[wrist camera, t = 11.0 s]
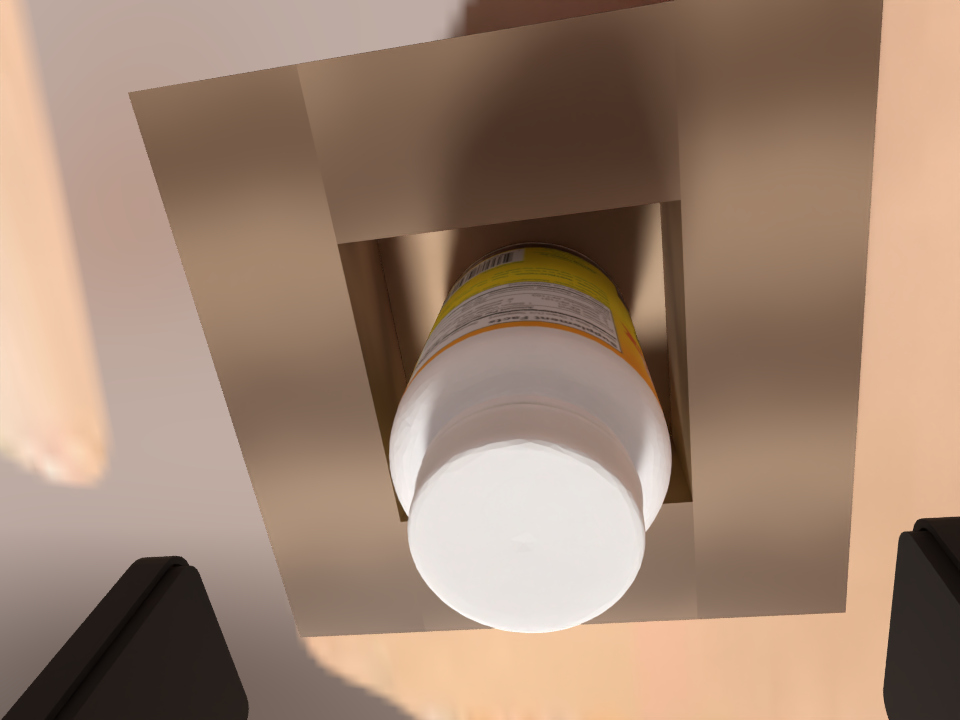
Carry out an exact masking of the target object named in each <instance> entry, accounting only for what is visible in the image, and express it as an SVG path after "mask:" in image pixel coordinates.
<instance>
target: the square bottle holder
mask: <svg viewBox="0 0 960 720" xmlns="http://www.w3.org/2000/svg"><path fill="white" fill-rule="evenodd" d="M882 10H883V0H674V1H668V2H662V3H656V4H650V5H644V6H639V7H633V8H627V9H621V10H615V11H609V12H603V13H597V14H591V15H585V16H579V17H573V18H567V19H562V20H556V21H550V22H544V23H538V24H532V25H526V26H520V27H514V28H508V29H502V30H496V31H490V32H485V33H479V34H473V35H467V36H461V37H455V38H449V39H443V40H437V41H431V42H426V43H419V44H414V45H408V46H402V47H396V48H390V49H384V50H378V51H372V52H366V53H360V54H354V55H348V56H342V57H337V58H331V59H325V60H319V61H313V62H307V63H301V64H295V65H289V66H283V67H277V68H272V69H266V70H260V71H254V72H248V73H242V74H236V75H230V76H225V77H218V78H212V79H206V80H200V81H195V82H188V83H183V84H177V85H171V86H165V87H160V88H153V89H147V90H141V91H135V92H130V93H128V94H129V97H130V100H131V103H132V106H133V110H134V113H135V116H136V119H137V122H138V125H139V129H140V132H141V135H142V138H143V141H144V144H145V147H146V150H147V154H148V157H149V160H150V163H151V166H152V169H153V173H154V176H155V179H156V182H157V185H158V188H159V192H160V195H161V198H162V201H163V204H164V207H165V211H166V214H167V217H168V220H169V223H170V227H171V230H172V233H173V236H174V239H175V242H176V245H177V249H178V252H179V255H180V258H181V261H182V265H183V267H184V271H185V274H186V277H187V280H188V283H189V287H190V290H191V293H192V296H193V299H194V302H195V306H196V309H197V312H198V315H199V318H200V321H201V324H202V328H203V331H204V334H205V337H206V340H207V344H208V347H209V350H210V353H211V356H212V359H213V362H214V366H215V369H216V372H217V375H218V378H219V381H220V385H221V388H222V391H223V394H224V397H225V400H226V403H227V407H228V410H229V413H230V416H231V419H232V423H233V426H234V429H235V432H236V435H237V438H238V442H239V444H240V448H241V451H242V454H243V457H244V460H245V464H246V467H247V470H248V473H249V476H250V479H251V483H252V486H253V488H254V492H255V495H256V498H257V501H258V505H259V508H260V511H261V514H262V517H263V521H264V524H265V526H266V530H267V533H268V536H269V539H270V543H271V546H272V549H273V552H274V555H275V558H276V562H277V565H278V568H279V571H280V574H281V577H282V581H283V584H284V587H285V590H286V593H287V596H288V600H289V603H290V606H291V609H292V612H293V615H294V619H295V622H296V625H297V628H298V631H299V634H300V637H317V636H339V635H361V634H383V633H405V632H427V631H448V630H470V629H492V628H493V627H490V626H486V625H483V624H481V623H478V622H476V621H474V620H471V619H469V618H467V617H465V616H463V615H461V614H460V613H459V612H457V611H455V610H454V609H452V608H451V607H449V606H448V605H447V604H445V603H444V602H443V601H442V600H441V599H440V598H439V597H438V596H437V595H436V594H435V593H434V592H433V591H432V590H431V589H430V588H429V586H428V585H427V584H426V582H425V581H424V580H423V578H422V577H421V575H420V573H419V571H418V570H417V568H416V565H415V563H414V560H413V558H412V555H411V552H410V547H409V542H408V532H407V526H408V516H407V514H406V512H405V511H404V509H403V507H402V505H401V503H400V501H399V499H398V496H397V493H396V491H395V487H394V484H393V480H392V477H391V471H390V460H389V446H390V436H391V430H392V426H393V422H394V418H395V415H396V412H397V409H398V405H399V403H400V401H401V398H402V396H403V394H404V392H405V389H406V387H407V384H406V379H405V374H404V369H403V364H402V359H401V355H400V350H399V345H398V340H397V335H396V330H395V326H394V321H393V316H392V311H391V306H390V301H389V296H388V292H387V287H386V282H385V277H384V272H383V267H382V263H381V258H380V253H379V248H378V243H377V239H381V238H389V237H397V236H404V235H412V234H420V233H428V232H435V231H443V230H451V229H459V228H466V227H474V226H482V225H490V224H497V223H505V222H513V221H521V220H528V219H536V218H544V217H552V216H559V215H567V214H575V213H583V212H590V211H598V210H606V209H614V208H621V207H629V206H637V205H645V204H652V203H660V209H661V229H662V248H663V268H664V288H665V307H666V327H667V347H668V366H669V386H670V406H671V425H672V437H670V444H671V457H672V464H671V474H670V481H669V486H668V490H667V493H666V496H665V499H664V501H663V504H662V506H661V508H660V510H659V512H658V514H657V516H656V518H655V519H654V521H653V522H652V524H651V525H650V527H649V528H648V530H647V531H646V532H645V551H644V556H643V559H642V563H641V567H640V569H639V571H638V573H637V575H636V578H635V580H634V581H633V583H632V584H631V586H630V587H629V588H628V590H627V591H626V592H625V593H624V595H623V596H622V597H621V598H620V599H619V600H618V601H617V602H616V603H615V604H614V605H612V606H611V607H610V608H609V609H607V610H606V611H604V612H603V613H602V614H600V615H598V616H596V617H594V618H592V619H590V620H588V621H587V622H584V623H582V624H602V623H624V622H646V621H668V620H690V619H712V618H734V617H756V616H778V615H800V614H822V613H844V612H845V611H846V595H847V579H848V563H849V547H850V530H851V514H852V498H853V482H854V465H855V449H856V433H857V417H858V400H859V384H860V368H861V352H862V335H863V319H864V303H865V287H866V270H867V254H868V238H869V222H870V205H871V189H872V173H873V157H874V140H875V124H876V108H877V92H878V75H879V59H880V43H881V27H882ZM579 625H580V624H579Z"/></svg>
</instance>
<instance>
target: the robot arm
mask: <svg viewBox="0 0 960 720" xmlns="http://www.w3.org/2000/svg"><path fill="white" fill-rule="evenodd" d="M883 696H884V703H885V708H886V712H887V715H888V718H889V720H960V517H942V518H922V519H919V520H917V521H916V523H915V524H914V528H913V531H908V532H902V533H901V535H900V537H899V542H898V551H897V561H896V571H895V580H894V590H893V600H892V610H891V619H890V629H889V639H888V648H887V658H886V668H885V678H884V687H883ZM248 710H249V708H248V700H247V696H246V694H245V691H244V689H243V686H242V683H241V681H240V678H239V676H238V673H237V670H236V668H235V665H234V663H233V660H232V658H231V655H230V652H229V650H228V647H227V644H226V642H225V639H224V637H223V634H222V631H221V629H220V626H219V624H218V621H217V618H216V616H215V613H214V610H213V608H212V605H211V603H210V600H209V598H208V595H207V592H206V590H205V587H204V584H203V582H202V579H201V577H200V574H199V572H198V570H197V569H196V568H195V567H193V566H189V564H188V563H187V561H186V560H185V559H184V558H182V557H180V556H169V557H168V556H166V557H147V558H141V559H138V560H136V561H135V562H134V563H133V564H132V565H131V566H130V567H129V568H128V570H127V571H126V572H125V573H124V574H123V575H122V577H121V578H120V579H119V580H118V582H117V583H116V584H115V585H114V586H113V587H112V589H111V590H110V591H109V592H108V593H107V595H106V596H105V597H104V598H103V599H102V600H101V602H100V603H99V604H98V605H97V607H96V608H95V609H94V610H93V611H92V612H91V614H90V615H89V616H88V617H87V618H86V620H85V621H84V622H83V623H82V624H81V626H80V627H79V628H78V629H77V630H76V632H75V633H74V634H73V635H72V636H71V638H70V639H69V640H68V641H67V642H66V643H65V645H64V646H63V647H62V648H61V649H60V651H59V652H58V653H57V654H56V655H55V657H54V658H53V659H52V660H51V661H50V662H49V664H48V665H47V666H46V667H45V668H44V670H43V671H42V672H41V673H40V674H39V676H38V677H37V678H36V679H35V680H34V681H33V683H32V684H31V685H30V686H29V687H28V689H27V690H26V691H25V692H24V694H23V695H22V696H21V697H20V698H19V699H18V701H17V702H16V703H15V704H14V705H13V707H12V708H11V709H10V710H9V711H8V712H7V714H6V715H5V716H4V717H3V718H2V720H247V718H248Z"/></svg>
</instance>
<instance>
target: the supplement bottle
mask: <svg viewBox="0 0 960 720" xmlns="http://www.w3.org/2000/svg"><path fill="white" fill-rule="evenodd" d="M389 460H390V471H391V477H392V480H393V484H394V487H395V491H396V493H397V496H398V499H399V501H400V503H401V505H402V507H403V509H404V511H405V512H406V514H407V516H408V526H407V532H408V542H409V547H410V552H411V555H412V558H413V560H414V563H415V565H416V568H417V570H418V571H419V573H420V575H421V577H422V578H423V580H424V581H425V582H426V584H427V585H428V586H429V588H430V589H431V590H432V591H433V592H434V593H435V594H436V595H437V596H438V597H439V598H440V599H441V600H442V601H443V602H444V603H445V604H447V605H448V606H449V607H451V608H452V609H454V610H455V611H457V612H459V613H460V614H461V615H463V616H465V617H467V618H469V619H471V620H474V621H476V622H478V623H481V624H483V625H486V626H490V627H493V628H496V629H500V630H505V631H511V632H523V633H544V632H552V631H558V630H563V629H566V628H570V627H574V626H577V625H579V624H582V623H584V622H587V621H588V620H590V619H592V618H594V617H596V616H598V615H600V614H602V613H603V612H604V611H606V610H607V609H609V608H610V607H611V606H612V605H614V604H615V603H616V602H617V601H618V600H619V599H620V598H621V597H622V596H623V595H624V593H625V592H626V591H627V590H628V588H629V587H630V586H631V584H632V583H633V581H634V580H635V578H636V575H637V573H638V571H639V569H640V567H641V563H642V559H643V556H644V551H645V532H646V531H647V530H648V528H649V527H650V525H651V524H652V522H653V521H654V519H655V518H656V516H657V514H658V512H659V510H660V508H661V506H662V504H663V501H664V499H665V496H666V493H667V490H668V486H669V481H670V474H671V464H672V457H671V444H670V437H669V433H668V428H667V424H666V421H665V417H664V414H663V411H662V408H661V405H660V402H659V400H658V397H657V394H656V391H655V387H654V384H653V382H652V379H651V376H650V373H649V370H648V367H647V364H646V362H645V359H644V356H643V353H642V349H641V346H640V343H639V340H638V338H637V335H636V332H635V329H634V326H633V323H632V320H631V317H630V314H629V311H628V308H627V306H626V304H625V301H624V299H623V296H622V294H621V292H620V290H619V289H618V287H617V286H616V284H615V283H614V281H613V280H612V279H611V277H610V276H609V275H608V274H607V273H606V272H605V271H604V270H603V269H602V268H601V267H600V266H599V265H597V264H596V263H595V262H594V261H592V260H591V259H589V258H588V257H586V256H585V255H583V254H581V253H579V252H577V251H574V250H572V249H569V248H567V247H564V246H560V245H556V244H550V243H540V242H528V243H519V244H514V245H510V246H506V247H503V248H500V249H498V250H495V251H493V252H491V253H489V254H487V255H485V256H483V257H482V258H480V259H479V260H477V261H476V262H475V263H473V264H472V265H471V266H470V267H469V268H468V269H467V270H465V271H464V273H463V274H462V275H461V276H460V277H459V279H458V280H457V281H456V282H455V284H454V285H453V287H452V288H451V290H450V292H449V294H448V296H447V298H446V299H445V301H444V304H443V306H442V308H441V310H440V313H439V315H438V317H437V319H436V322H435V324H434V326H433V328H432V330H431V332H430V334H429V337H428V339H427V341H426V344H425V346H424V348H423V350H422V352H421V355H420V357H419V359H418V361H417V363H416V366H415V368H414V370H413V373H412V375H411V378H410V380H409V382H408V385H407V387H406V389H405V392H404V394H403V396H402V398H401V401H400V403H399V405H398V409H397V412H396V415H395V418H394V422H393V426H392V430H391V436H390V446H389Z"/></svg>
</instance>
